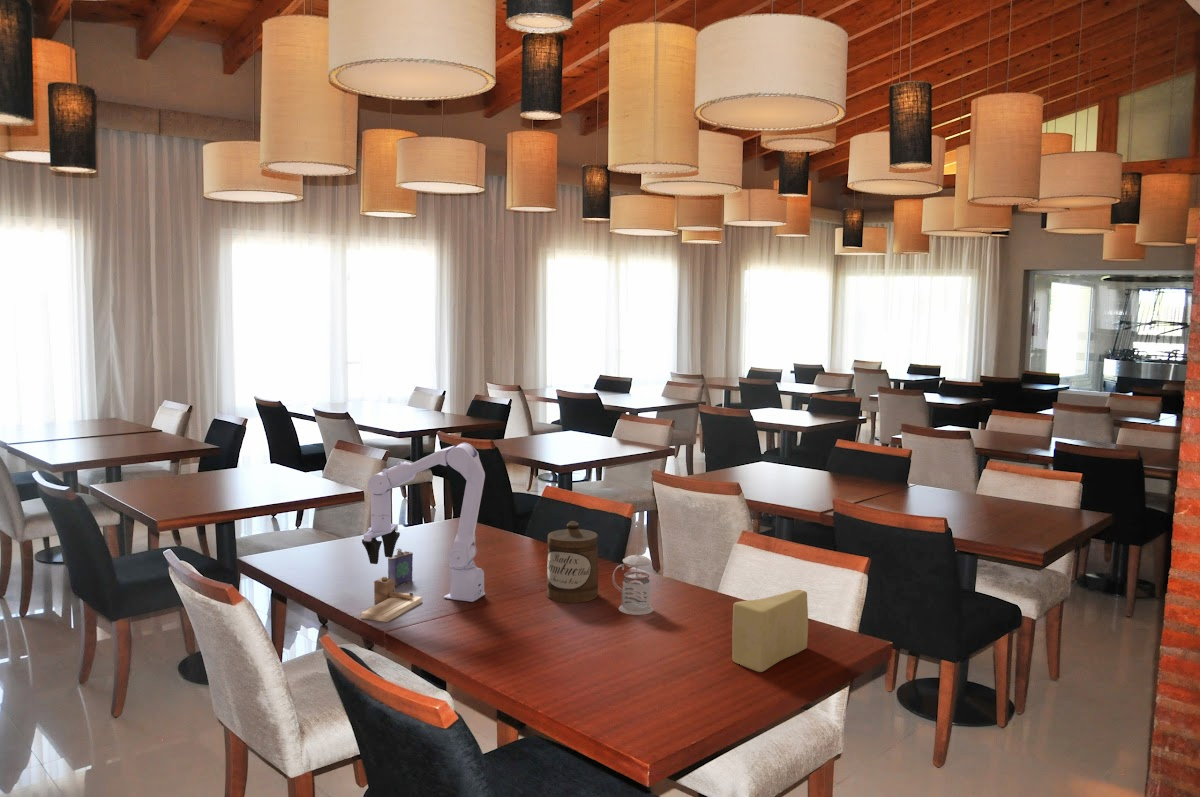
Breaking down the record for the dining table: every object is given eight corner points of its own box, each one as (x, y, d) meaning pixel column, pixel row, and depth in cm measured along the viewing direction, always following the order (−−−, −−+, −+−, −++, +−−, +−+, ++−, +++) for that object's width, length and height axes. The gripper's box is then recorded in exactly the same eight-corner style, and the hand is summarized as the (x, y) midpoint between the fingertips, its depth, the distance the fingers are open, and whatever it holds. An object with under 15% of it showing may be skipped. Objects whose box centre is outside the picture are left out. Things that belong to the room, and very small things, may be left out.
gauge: (416, 602, 261) (416, 579, 261) (408, 606, 257) (408, 582, 257) (382, 598, 265) (382, 574, 264) (374, 602, 261) (374, 578, 260)
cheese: (789, 641, 235) (791, 584, 234) (820, 653, 228) (823, 593, 226) (729, 661, 221) (731, 600, 220) (760, 674, 214) (763, 611, 212)
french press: (650, 616, 253) (652, 526, 251) (609, 612, 255) (610, 523, 253) (655, 605, 263) (657, 518, 260) (615, 601, 265) (617, 515, 263)
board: (422, 602, 262) (422, 596, 262) (387, 621, 245) (387, 616, 245) (397, 598, 264) (397, 593, 264) (361, 618, 247) (361, 612, 247)
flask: (392, 588, 274) (391, 552, 273) (385, 586, 276) (384, 551, 275) (414, 581, 282) (414, 546, 281) (407, 579, 284) (407, 545, 283)
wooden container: (539, 600, 265) (540, 524, 263) (557, 585, 280) (557, 514, 277) (588, 605, 261) (589, 529, 259) (604, 591, 275) (605, 518, 273)
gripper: (383, 508, 276) (383, 552, 277) (354, 518, 262) (354, 565, 263) (403, 510, 273) (404, 555, 275) (375, 520, 260) (376, 567, 261)
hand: (381, 560), depth 269 cm, fingers open, 7 cm apart
